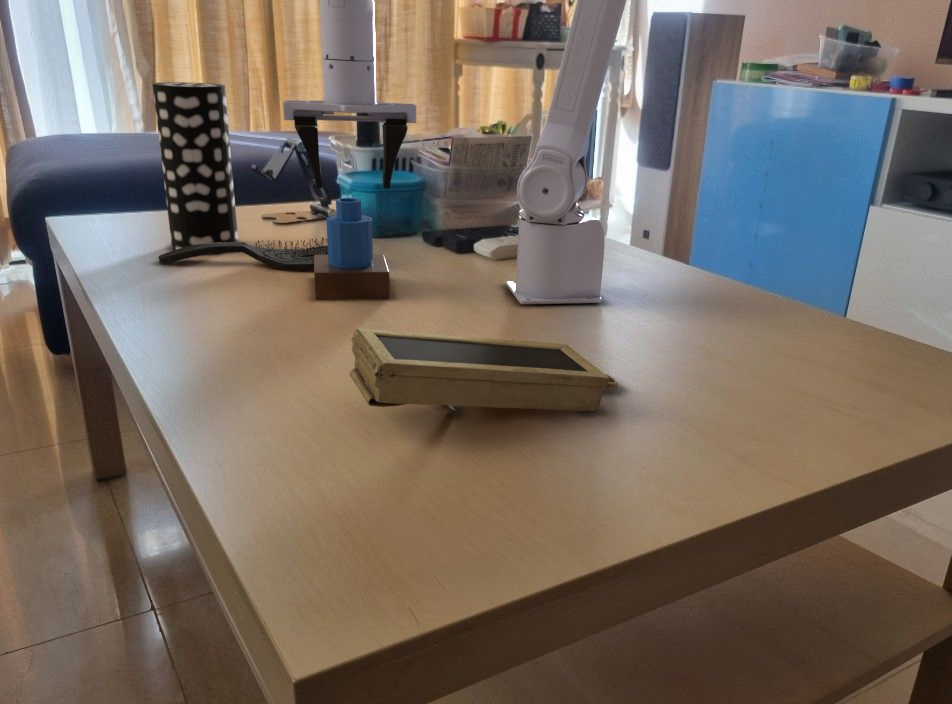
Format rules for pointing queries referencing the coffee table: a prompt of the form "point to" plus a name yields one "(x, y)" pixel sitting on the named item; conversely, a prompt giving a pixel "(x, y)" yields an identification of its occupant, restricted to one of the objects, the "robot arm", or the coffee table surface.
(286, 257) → the hairbrush
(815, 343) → the coffee table surface
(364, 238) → the bottle
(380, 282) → the block
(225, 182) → the white-spotted black cylinder
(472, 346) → the box
